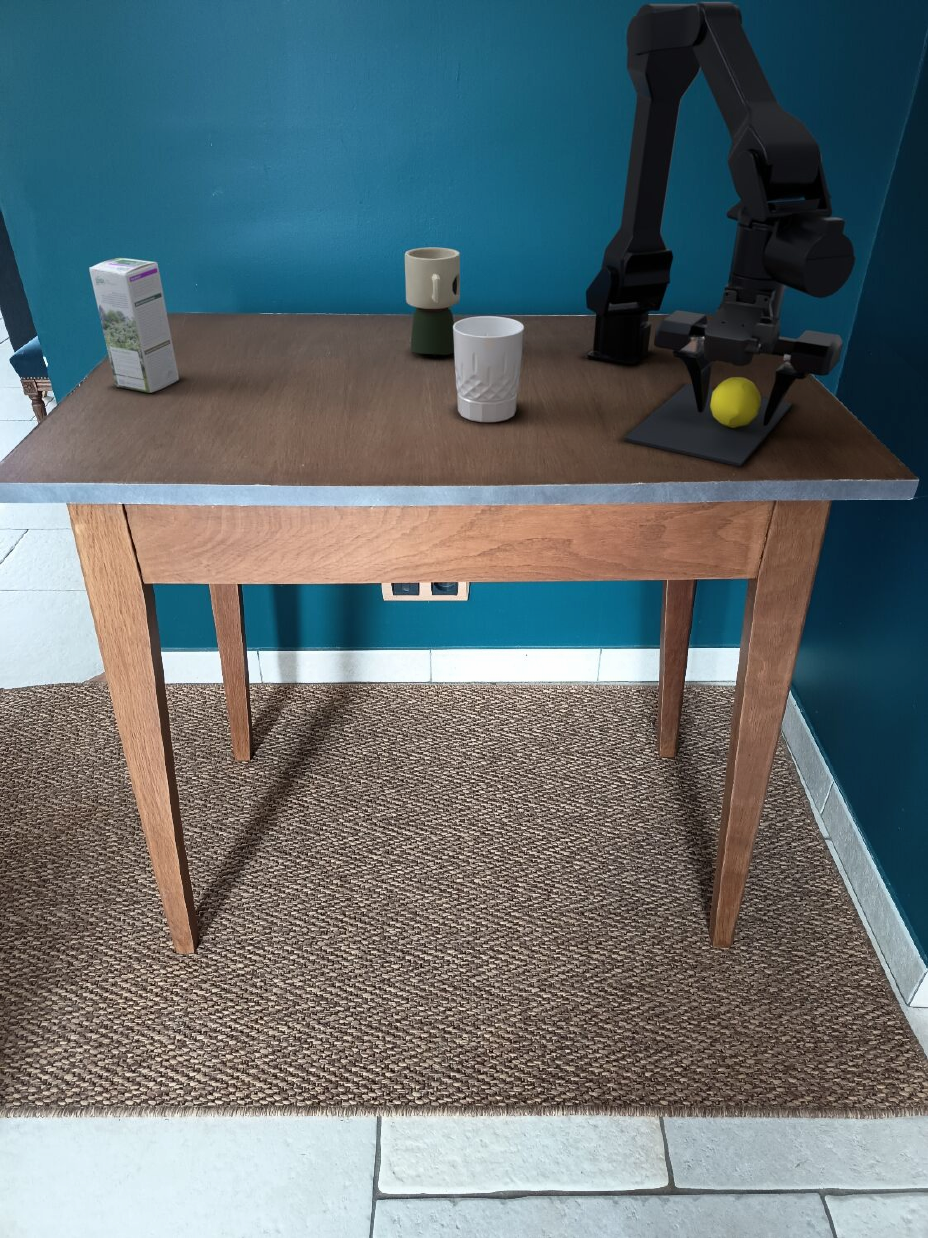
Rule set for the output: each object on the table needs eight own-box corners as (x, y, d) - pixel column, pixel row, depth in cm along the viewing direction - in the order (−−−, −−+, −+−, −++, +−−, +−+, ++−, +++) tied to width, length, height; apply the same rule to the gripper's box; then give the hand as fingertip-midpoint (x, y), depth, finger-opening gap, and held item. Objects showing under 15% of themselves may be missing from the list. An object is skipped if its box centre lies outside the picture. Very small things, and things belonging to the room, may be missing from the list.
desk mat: (623, 440, 101) (624, 437, 100) (686, 386, 115) (687, 383, 115) (740, 466, 95) (741, 463, 95) (791, 406, 109) (792, 403, 109)
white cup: (473, 429, 103) (473, 340, 98) (441, 406, 109) (440, 321, 103) (533, 417, 106) (537, 330, 101) (499, 395, 112) (502, 312, 106)
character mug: (465, 364, 121) (465, 261, 114) (411, 367, 121) (408, 263, 113) (454, 339, 130) (454, 242, 123) (404, 341, 130) (401, 244, 122)
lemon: (759, 438, 100) (768, 390, 97) (708, 435, 101) (716, 387, 98) (752, 414, 106) (761, 368, 103) (705, 411, 107) (712, 366, 104)
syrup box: (181, 379, 116) (160, 259, 108) (149, 395, 112) (125, 271, 104) (145, 373, 118) (122, 255, 110) (113, 388, 114) (86, 265, 106)
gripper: (643, 277, 92) (627, 424, 101) (834, 304, 84) (798, 461, 93) (681, 255, 100) (663, 394, 109) (859, 278, 92) (824, 425, 101)
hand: (733, 417), depth 103 cm, fingers open, 7 cm apart
